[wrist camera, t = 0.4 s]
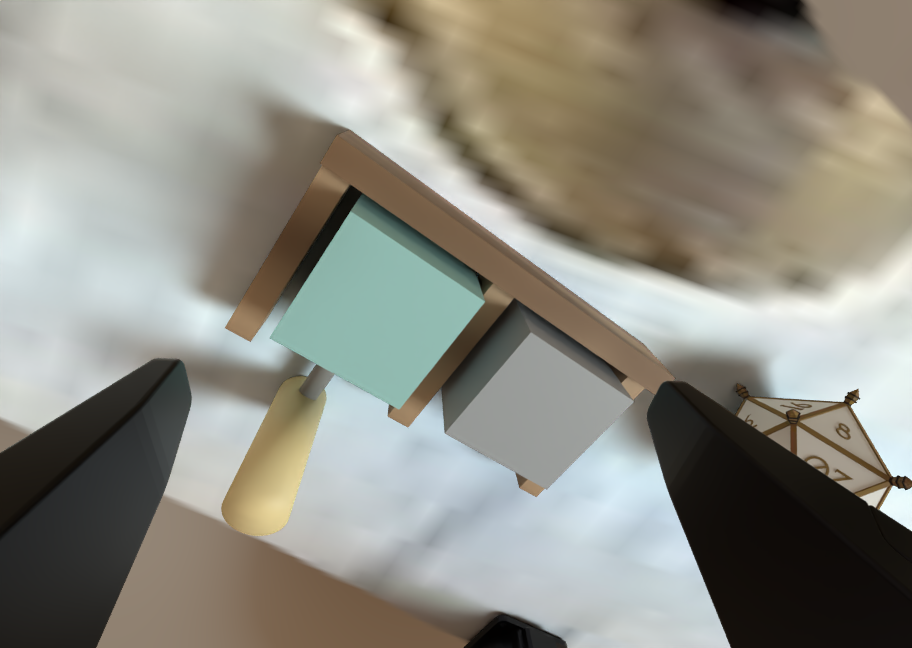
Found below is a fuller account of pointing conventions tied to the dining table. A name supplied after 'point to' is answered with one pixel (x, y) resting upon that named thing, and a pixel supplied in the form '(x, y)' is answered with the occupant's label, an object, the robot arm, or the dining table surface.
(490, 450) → the slate block
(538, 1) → the dining table surface
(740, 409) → the grey spiky lump
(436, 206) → the shelf
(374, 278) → the teal cube mallet
